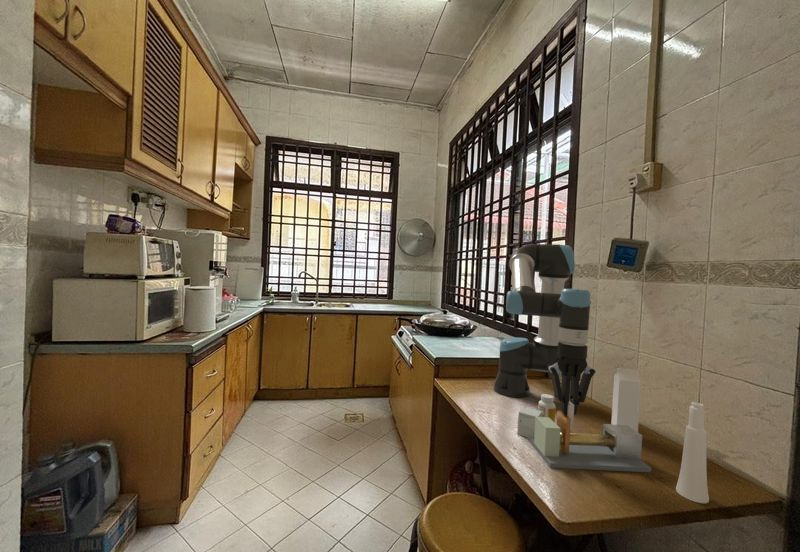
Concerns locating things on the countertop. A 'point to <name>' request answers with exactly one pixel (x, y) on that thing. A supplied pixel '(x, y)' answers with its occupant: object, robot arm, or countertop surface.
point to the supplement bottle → (547, 406)
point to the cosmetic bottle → (694, 458)
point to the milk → (626, 398)
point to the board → (591, 459)
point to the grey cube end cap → (624, 442)
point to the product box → (527, 421)
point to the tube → (579, 436)
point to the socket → (547, 436)
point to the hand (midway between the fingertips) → (567, 425)
